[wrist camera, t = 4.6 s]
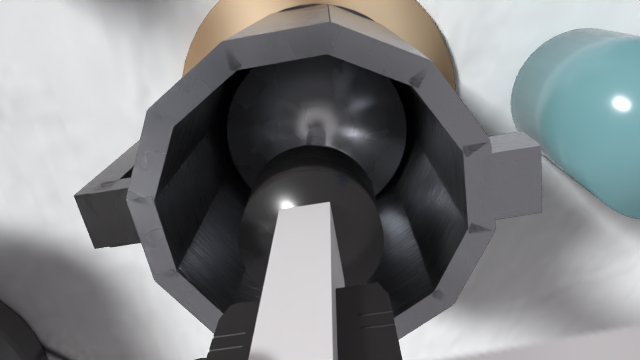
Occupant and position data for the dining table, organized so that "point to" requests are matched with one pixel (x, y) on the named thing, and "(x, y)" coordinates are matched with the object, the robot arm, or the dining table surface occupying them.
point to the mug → (586, 111)
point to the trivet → (377, 3)
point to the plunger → (316, 154)
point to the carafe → (233, 192)
